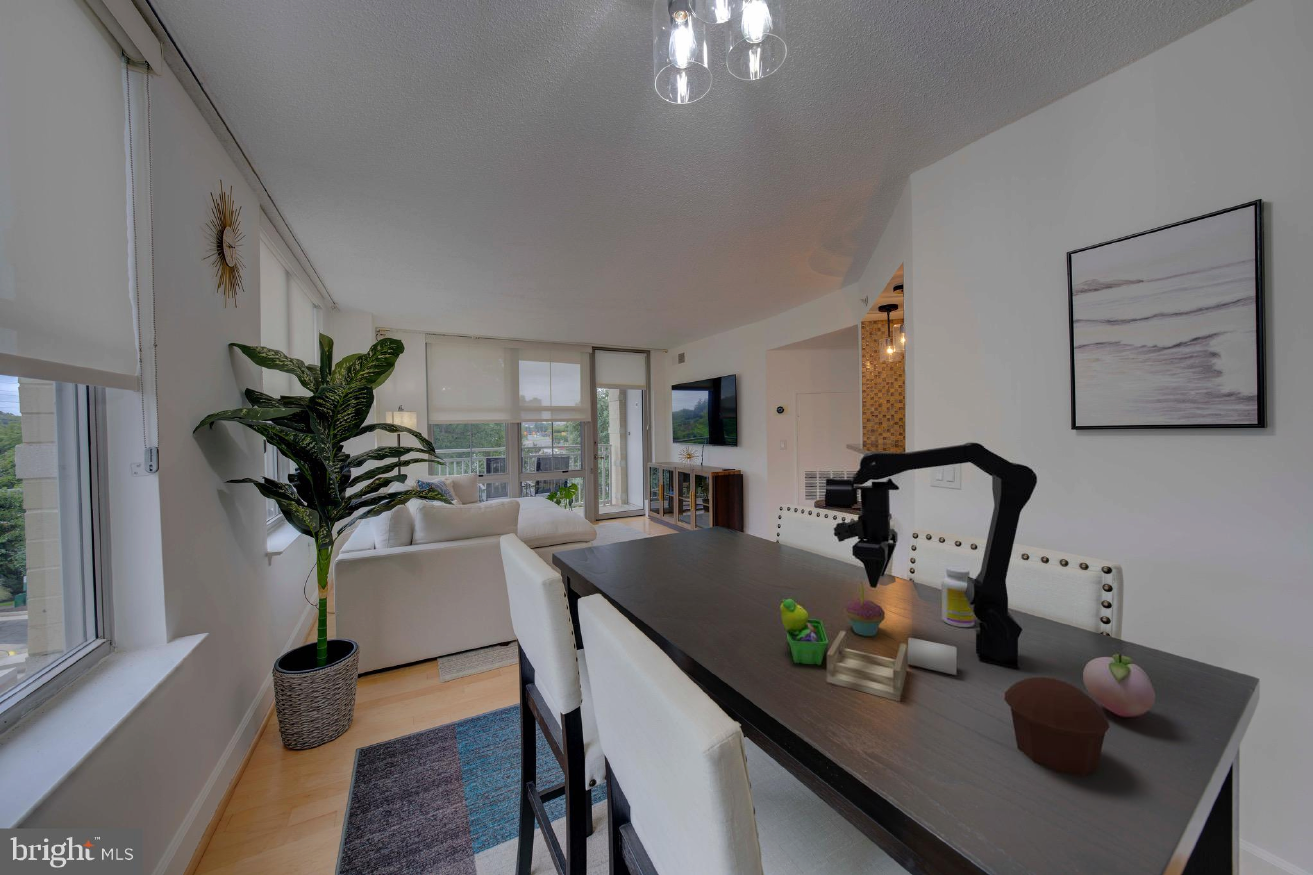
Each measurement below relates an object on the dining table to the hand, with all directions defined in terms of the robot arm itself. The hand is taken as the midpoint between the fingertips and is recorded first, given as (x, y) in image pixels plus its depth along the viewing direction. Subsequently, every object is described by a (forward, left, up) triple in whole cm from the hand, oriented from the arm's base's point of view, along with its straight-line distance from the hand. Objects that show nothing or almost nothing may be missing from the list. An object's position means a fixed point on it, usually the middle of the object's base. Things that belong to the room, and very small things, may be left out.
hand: (877, 581), depth 105 cm
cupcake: (+3, -4, -13) cm, 14 cm away
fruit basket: (+12, +14, -13) cm, 23 cm away
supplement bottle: (-15, -21, -13) cm, 29 cm away
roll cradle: (-1, +17, -13) cm, 22 cm away
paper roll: (-11, +7, -13) cm, 18 cm away
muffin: (-27, +26, -13) cm, 40 cm away
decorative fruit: (-37, +9, -13) cm, 40 cm away
